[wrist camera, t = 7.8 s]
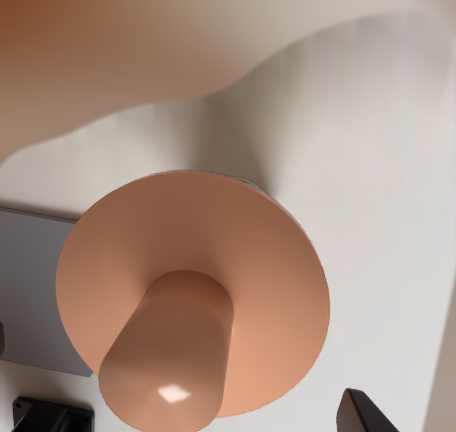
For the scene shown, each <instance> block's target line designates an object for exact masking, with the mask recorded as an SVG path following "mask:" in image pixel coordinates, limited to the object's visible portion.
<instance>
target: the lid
mask: <svg viewBox="0 0 456 432" xmlns="http://www.w3.org/2000/svg"><path fill="white" fill-rule="evenodd" d="M56 297H57V305H58V309H59V313H60V317H61V320H62V323H63V326H64V328H65V331H66V333H67V335H68V337H69V339H70V341H71V343H72V345H73V346H74V348H75V349H76V351H77V352H78V354H79V355H80V357H81V358H82V359H83V361H84V362H85V363H86V364H87V365H88V366H89V367H90V369H91V370H92V371H93V372H94V373H95V374H96V375H98V380H99V387H100V391H101V394H102V397H103V399H104V400H105V402H106V404H107V405H108V407H109V408H110V409H111V411H112V412H113V413H114V414H115V415H116V416H117V417H118V418H119V419H121V420H122V421H123V422H125V423H126V424H128V425H129V426H131V427H133V428H135V429H137V430H139V431H141V432H197V431H200V430H201V429H203V428H205V427H206V426H207V425H209V424H210V423H211V422H212V421H213V420H214V419H215V418H223V417H229V416H235V415H240V414H243V413H247V412H250V411H254V410H256V409H258V408H261V407H263V406H266V405H268V404H270V403H271V402H273V401H275V400H277V399H278V398H280V397H282V396H283V395H284V394H286V393H287V392H288V391H290V390H291V389H292V388H294V387H295V386H296V385H297V384H298V383H299V382H300V381H301V380H302V379H303V378H304V377H305V375H306V374H307V373H308V371H309V370H310V369H311V367H312V366H313V365H314V363H315V361H316V359H317V357H318V356H319V354H320V352H321V350H322V347H323V344H324V341H325V339H326V336H327V330H328V325H329V319H330V299H329V291H328V285H327V281H326V278H325V274H324V270H323V268H322V265H321V262H320V260H319V257H318V255H317V253H316V250H315V248H314V246H313V244H312V242H311V240H310V239H309V237H308V236H307V234H306V232H305V231H304V229H303V228H302V227H301V225H300V224H299V223H298V222H297V221H296V219H295V218H294V217H293V216H292V215H291V214H290V213H289V212H288V211H287V210H286V209H285V208H284V207H283V206H282V205H281V204H279V203H278V202H277V201H276V200H274V199H273V198H271V197H270V196H268V195H267V194H266V193H264V192H263V191H261V190H259V189H257V188H255V187H253V186H251V185H249V184H247V183H245V182H243V181H240V180H237V179H235V178H232V177H229V176H226V175H221V174H217V173H213V172H207V171H197V170H174V171H166V172H160V173H155V174H151V175H148V176H145V177H142V178H139V179H136V180H134V181H132V182H130V183H128V184H125V185H123V186H121V187H120V188H118V189H116V190H114V191H112V192H110V193H109V194H107V195H106V196H105V197H103V198H102V199H100V200H99V201H97V202H96V203H95V204H94V205H93V206H91V207H90V208H89V209H88V210H87V211H86V212H85V213H84V214H83V215H82V216H81V218H80V219H79V220H78V221H77V223H76V224H75V225H74V227H73V228H72V230H71V232H70V233H69V235H68V237H67V239H66V241H65V243H64V245H63V248H62V251H61V254H60V256H59V261H58V266H57V271H56Z"/></svg>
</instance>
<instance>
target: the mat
mask: <svg viewBox="0 0 456 432" xmlns="http://www.w3.org/2000/svg"><path fill="white" fill-rule="evenodd" d="M76 223H77V221H76V220H70V219H64V218H59V217H53V216H47V215H42V214H36V213H30V212H25V211H19V210H13V209H8V208H2V207H0V321H2V322H3V324H4V332H5V350H4V353H3V355H2V357H1V358H0V360H5V361H10V362H15V363H20V364H25V365H30V366H35V367H40V368H45V369H50V370H55V371H60V372H65V373H70V374H75V375H80V376H85V377H90V376H91V375H92V373H93V371H92V370H91V369H90V367H89V366H88V365H87V364H86V363H85V362H84V361H83V359H82V358H81V357H80V355H79V354H78V352H77V351H76V349H75V348H74V346H73V345H72V343H71V341H70V339H69V337H68V335H67V333H66V331H65V328H64V326H63V323H62V320H61V317H60V313H59V309H58V305H57V297H56V271H57V266H58V261H59V256H60V254H61V251H62V248H63V245H64V243H65V241H66V239H67V237H68V235H69V233H70V232H71V230H72V228H73V227H74V225H75V224H76Z"/></svg>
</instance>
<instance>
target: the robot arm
mask: <svg viewBox="0 0 456 432" xmlns="http://www.w3.org/2000/svg"><path fill="white" fill-rule="evenodd" d="M4 350H5V332H4V324H3V322H2V321H0V358H1V357H2V355H3V353H4ZM12 405H13V419H14V429H13V430H12V431H11V432H94V414H93V413H92V412H91V411H89V410H84V409H79V408H74V407H70V406H65V405H60V404H55V403H50V402H45V401H40V400H35V399H30V398H25V397H17V398H16V400H15V401H14V402H13V404H12ZM336 423H337V432H399V431H398V430H397V429H396V427H395V426H394V425H393V424H392V423H391V422H390V421H389V420H388V418H387V417H386V416H385V415H384V414H383V413H382V412H381V411H380V409H379V408H378V407H377V406H376V405H375V404H374V403H373V402H372V400H371V399H370V398H369V397H368V396H367V395H366V394H365V393H364V392H363V391H361V390H356V389H351V388H347V389H345V391H344V393H343V396H342V399H341V402H340V405H339V408H338V411H337V417H336Z"/></svg>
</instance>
